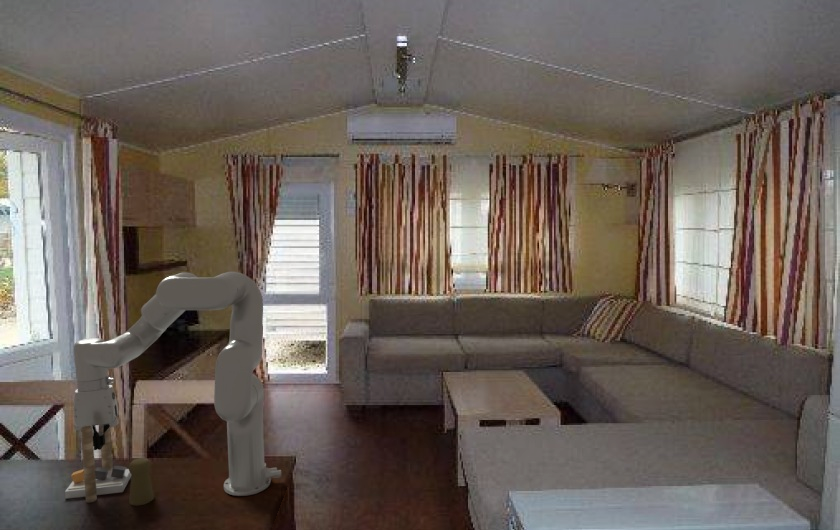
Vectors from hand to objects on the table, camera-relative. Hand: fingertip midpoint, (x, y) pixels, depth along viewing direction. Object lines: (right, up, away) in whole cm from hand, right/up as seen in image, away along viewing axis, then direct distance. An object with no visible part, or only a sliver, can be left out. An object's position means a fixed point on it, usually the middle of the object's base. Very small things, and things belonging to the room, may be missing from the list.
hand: (98, 447), depth 157 cm
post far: (-2, -10, +8) cm, 14 cm away
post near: (+1, -12, -6) cm, 14 cm away
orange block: (-5, -9, 0) cm, 10 cm away
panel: (0, -11, +1) cm, 11 cm away
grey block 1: (0, -9, +1) cm, 9 cm away
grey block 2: (+4, -9, +2) cm, 10 cm away
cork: (+15, -12, -6) cm, 20 cm away
